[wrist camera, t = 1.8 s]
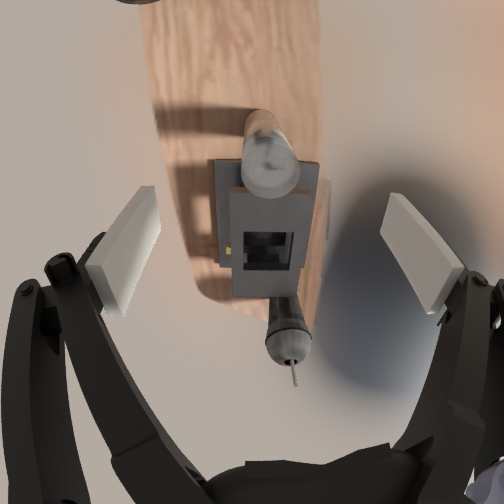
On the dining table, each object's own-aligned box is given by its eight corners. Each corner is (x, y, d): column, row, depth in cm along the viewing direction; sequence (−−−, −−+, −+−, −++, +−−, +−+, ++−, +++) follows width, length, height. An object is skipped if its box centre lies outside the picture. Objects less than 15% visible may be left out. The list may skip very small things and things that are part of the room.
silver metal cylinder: (245, 108, 31) (241, 143, 17) (277, 109, 31) (302, 145, 17) (244, 139, 33) (240, 200, 19) (275, 140, 34) (297, 202, 19)
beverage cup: (259, 300, 52) (262, 398, 36) (266, 272, 47) (273, 378, 31) (296, 303, 52) (309, 398, 37) (306, 276, 48) (327, 378, 32)
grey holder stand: (214, 159, 35) (205, 184, 28) (318, 162, 35) (334, 187, 29) (220, 263, 46) (215, 300, 39) (302, 264, 46) (311, 301, 40)
